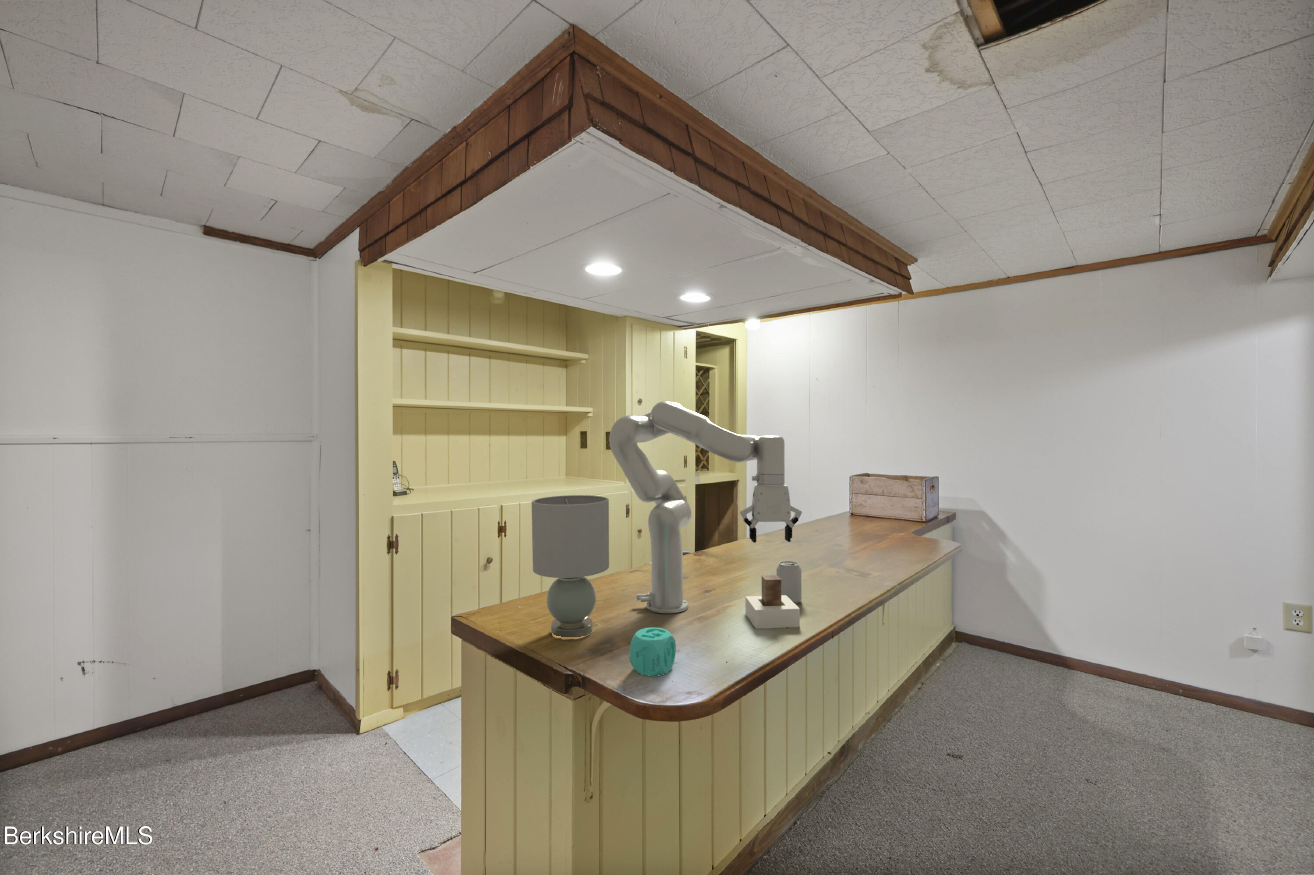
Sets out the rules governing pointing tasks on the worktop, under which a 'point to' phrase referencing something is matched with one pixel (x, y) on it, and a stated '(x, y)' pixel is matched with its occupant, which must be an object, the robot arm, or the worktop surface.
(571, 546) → the lamp
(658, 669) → the decorative dice
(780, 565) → the can
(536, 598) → the worktop surface
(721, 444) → the robot arm
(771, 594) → the peg
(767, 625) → the socket block
